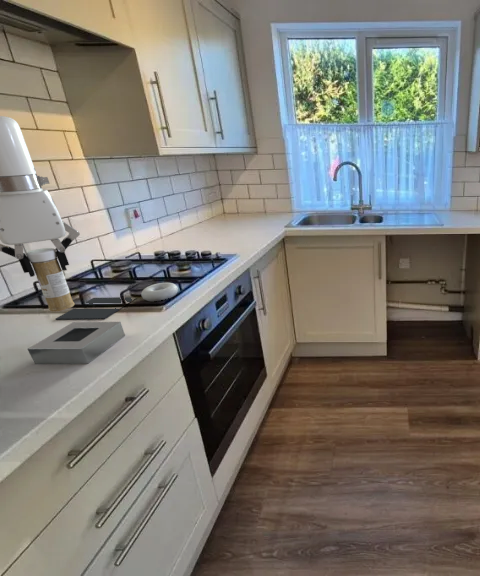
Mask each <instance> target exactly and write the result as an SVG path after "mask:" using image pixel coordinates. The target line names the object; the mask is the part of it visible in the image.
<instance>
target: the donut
mask: <svg viewBox="0 0 480 576" xmlns="http://www.w3.org/2000/svg"><path fill="white" fill-rule="evenodd" d="M178 292H179V287H178V285H177V284H175V283H173V282H158V283H154V284H151V285H148V286H147V287H145V288H143V290H142V291H141V294H140V295H141V298H142V300H144V301H147V302H151V303H153V302H154V301H157V302H162V301H161V300H163V301H166V300H169V299H171V298H173V297H175V296H176V295H177V294H178ZM168 298H169V299H168ZM165 299H166V300H165Z"/></svg>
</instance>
